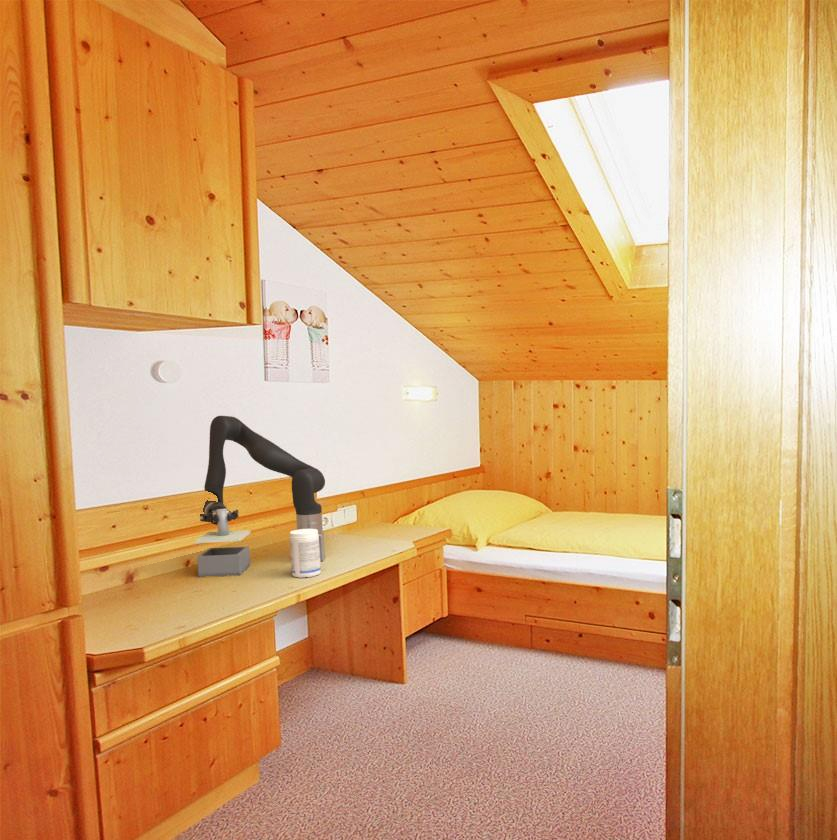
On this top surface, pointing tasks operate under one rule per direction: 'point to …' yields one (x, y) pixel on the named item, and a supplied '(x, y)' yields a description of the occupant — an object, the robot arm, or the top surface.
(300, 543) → the supplement tub
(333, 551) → the top surface
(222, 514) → the lid
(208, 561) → the parts box
